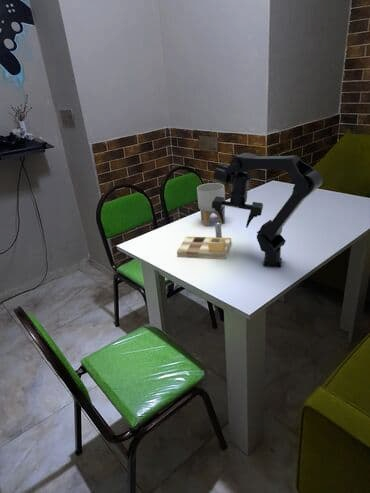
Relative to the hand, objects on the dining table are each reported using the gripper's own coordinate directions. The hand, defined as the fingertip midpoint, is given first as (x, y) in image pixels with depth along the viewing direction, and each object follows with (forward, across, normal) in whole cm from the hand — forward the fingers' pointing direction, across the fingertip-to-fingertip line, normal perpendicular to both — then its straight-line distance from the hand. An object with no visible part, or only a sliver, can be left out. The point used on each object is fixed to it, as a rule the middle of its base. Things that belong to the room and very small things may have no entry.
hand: (235, 225), depth 135 cm
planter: (+16, +15, -29) cm, 37 cm away
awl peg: (+14, +8, -9) cm, 18 cm away
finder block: (+10, +6, +3) cm, 12 cm away
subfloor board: (+14, +11, +1) cm, 18 cm away
